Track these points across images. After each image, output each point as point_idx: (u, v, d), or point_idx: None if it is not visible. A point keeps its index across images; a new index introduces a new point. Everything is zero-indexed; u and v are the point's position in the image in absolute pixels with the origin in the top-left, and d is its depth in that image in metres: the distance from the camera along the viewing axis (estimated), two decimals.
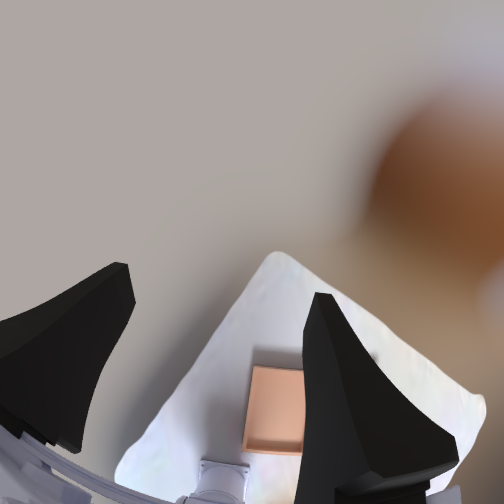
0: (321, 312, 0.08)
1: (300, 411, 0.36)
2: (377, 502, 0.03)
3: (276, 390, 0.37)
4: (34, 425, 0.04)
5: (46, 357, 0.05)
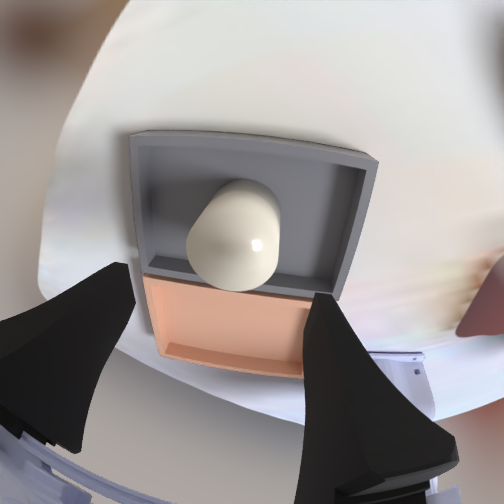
0: (321, 312, 0.08)
1: None
2: (377, 502, 0.03)
3: (195, 325, 0.23)
4: (34, 425, 0.04)
5: (46, 357, 0.05)
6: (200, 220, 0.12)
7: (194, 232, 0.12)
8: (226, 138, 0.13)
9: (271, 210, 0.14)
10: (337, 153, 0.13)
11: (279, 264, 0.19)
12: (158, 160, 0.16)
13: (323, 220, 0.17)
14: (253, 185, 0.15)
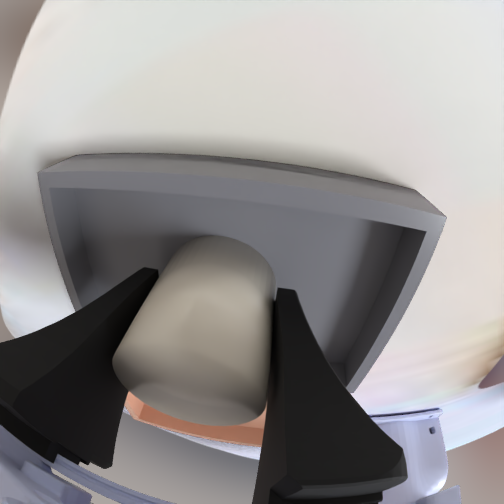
0: (278, 307, 0.08)
1: None
2: None
3: None
4: (69, 447, 0.04)
5: (81, 373, 0.05)
6: (123, 348, 0.06)
7: (119, 360, 0.06)
8: (173, 174, 0.07)
9: (258, 310, 0.08)
10: (382, 202, 0.07)
11: None
12: (87, 203, 0.10)
13: (342, 296, 0.10)
14: (227, 254, 0.09)
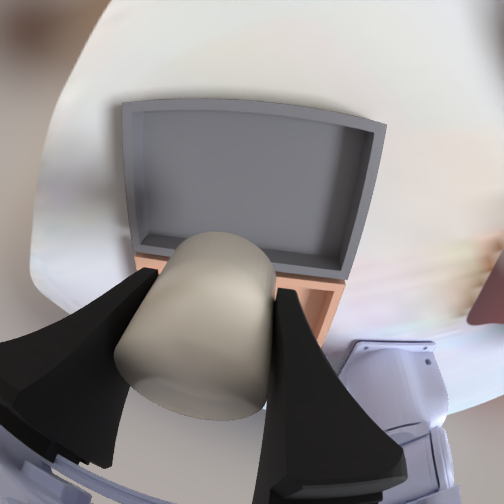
0: (278, 307, 0.08)
1: None
2: None
3: None
4: (69, 446, 0.04)
5: (81, 373, 0.05)
6: (125, 340, 0.06)
7: (121, 353, 0.06)
8: (224, 99, 0.12)
9: (259, 303, 0.08)
10: (343, 114, 0.12)
11: (282, 240, 0.17)
12: (152, 129, 0.14)
13: (329, 190, 0.15)
14: (228, 250, 0.09)
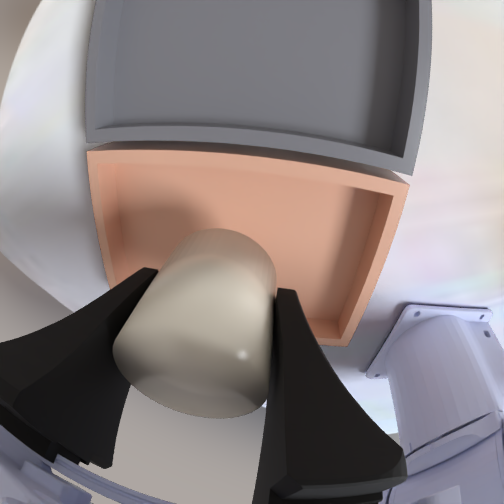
0: (278, 307, 0.08)
1: (230, 183, 0.12)
2: None
3: (168, 252, 0.14)
4: (69, 447, 0.04)
5: (81, 373, 0.05)
6: (125, 332, 0.06)
7: (120, 346, 0.06)
8: None
9: (260, 299, 0.08)
10: None
11: (309, 116, 0.10)
12: None
13: (371, 49, 0.08)
14: (230, 245, 0.09)
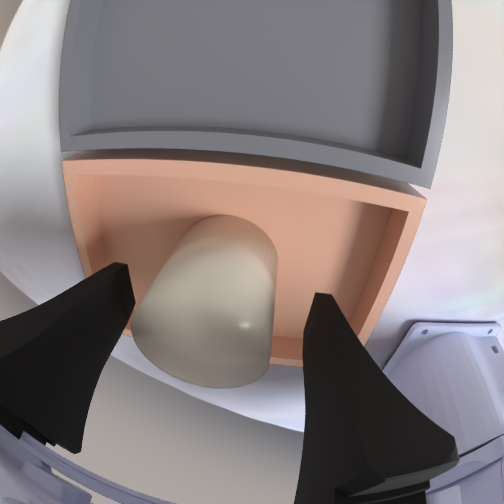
0: (321, 312, 0.08)
1: (221, 195, 0.10)
2: (377, 502, 0.03)
3: (155, 270, 0.13)
4: (34, 425, 0.04)
5: (46, 357, 0.05)
6: (144, 304, 0.07)
7: (138, 317, 0.07)
8: None
9: (263, 276, 0.09)
10: None
11: (313, 118, 0.09)
12: None
13: (384, 41, 0.07)
14: (236, 230, 0.10)
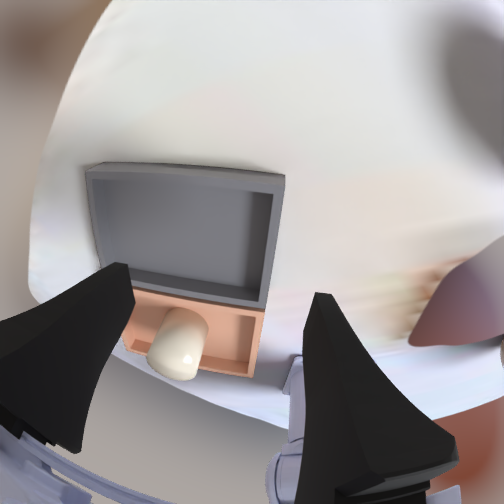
0: (321, 312, 0.08)
1: None
2: (377, 502, 0.03)
3: (153, 325, 0.26)
4: (34, 425, 0.04)
5: (46, 357, 0.05)
6: (151, 350, 0.20)
7: (149, 354, 0.20)
8: (154, 173, 0.16)
9: (195, 339, 0.22)
10: (244, 181, 0.16)
11: (213, 275, 0.21)
12: (110, 188, 0.18)
13: (246, 237, 0.19)
14: (186, 317, 0.23)
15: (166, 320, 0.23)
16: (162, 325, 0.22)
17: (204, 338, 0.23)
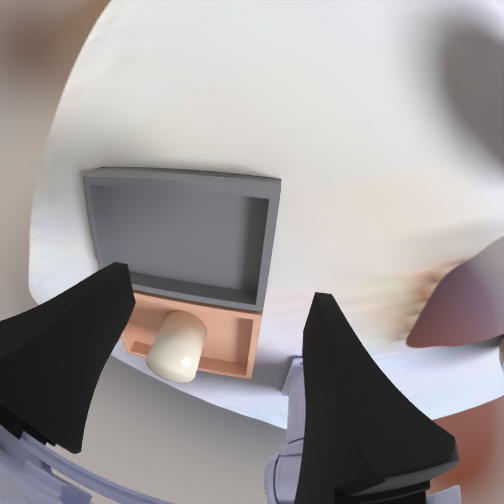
0: (321, 312, 0.08)
1: None
2: (377, 502, 0.03)
3: (152, 327, 0.26)
4: (34, 425, 0.04)
5: (46, 357, 0.05)
6: (151, 354, 0.20)
7: (149, 357, 0.20)
8: (150, 178, 0.16)
9: (194, 342, 0.22)
10: (240, 186, 0.16)
11: (211, 278, 0.22)
12: (108, 193, 0.19)
13: (242, 241, 0.20)
14: (185, 321, 0.23)
15: (165, 323, 0.23)
16: (161, 328, 0.22)
17: (203, 341, 0.23)
